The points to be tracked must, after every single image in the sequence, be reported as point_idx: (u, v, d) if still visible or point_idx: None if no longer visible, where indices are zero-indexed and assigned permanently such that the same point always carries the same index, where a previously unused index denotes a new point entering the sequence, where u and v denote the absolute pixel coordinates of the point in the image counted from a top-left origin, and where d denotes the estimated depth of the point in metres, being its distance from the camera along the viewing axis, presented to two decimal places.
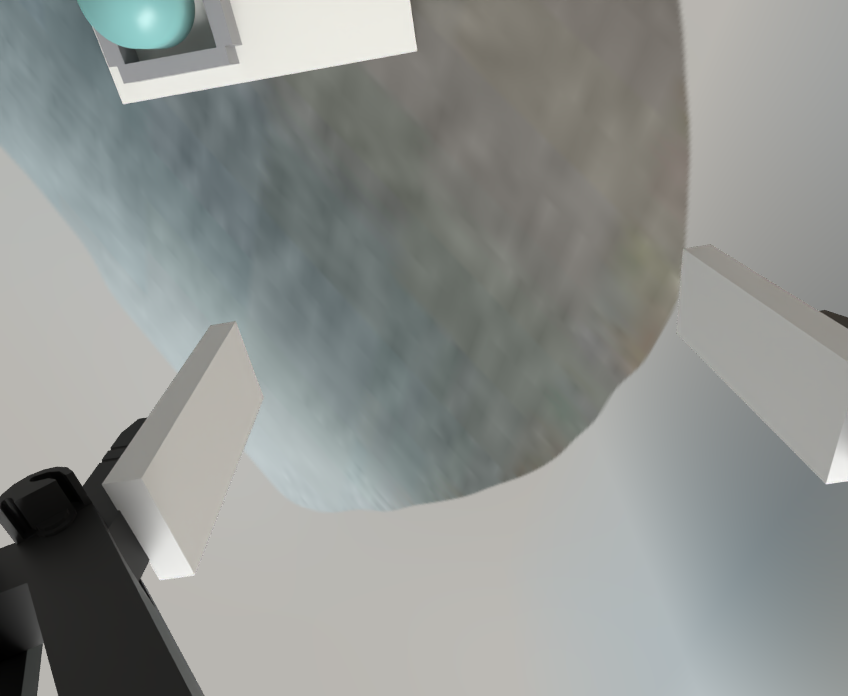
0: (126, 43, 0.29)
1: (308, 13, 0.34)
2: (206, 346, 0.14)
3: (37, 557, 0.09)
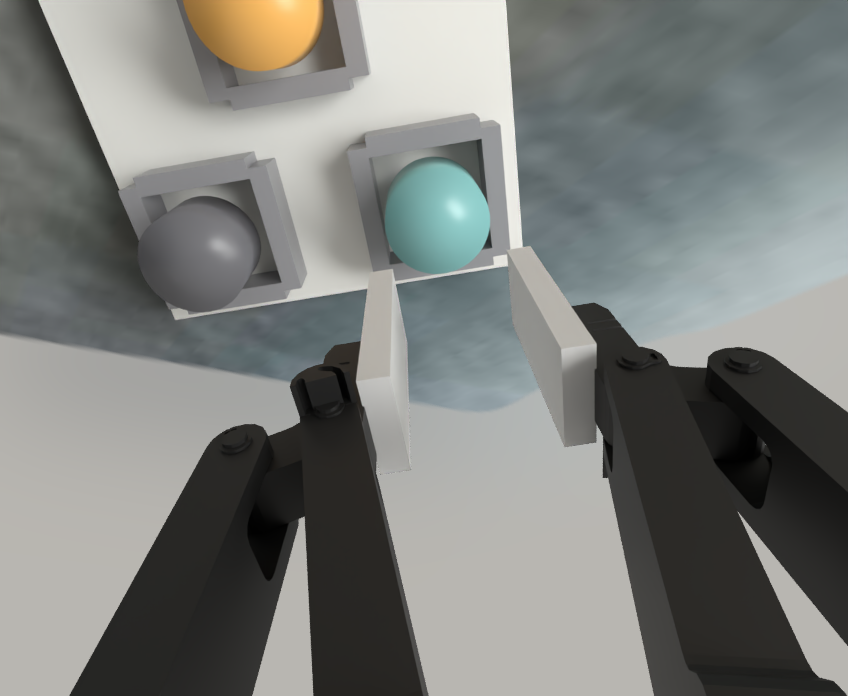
0: (484, 233, 0.26)
1: (442, 15, 0.26)
2: (378, 287, 0.16)
3: (311, 432, 0.10)
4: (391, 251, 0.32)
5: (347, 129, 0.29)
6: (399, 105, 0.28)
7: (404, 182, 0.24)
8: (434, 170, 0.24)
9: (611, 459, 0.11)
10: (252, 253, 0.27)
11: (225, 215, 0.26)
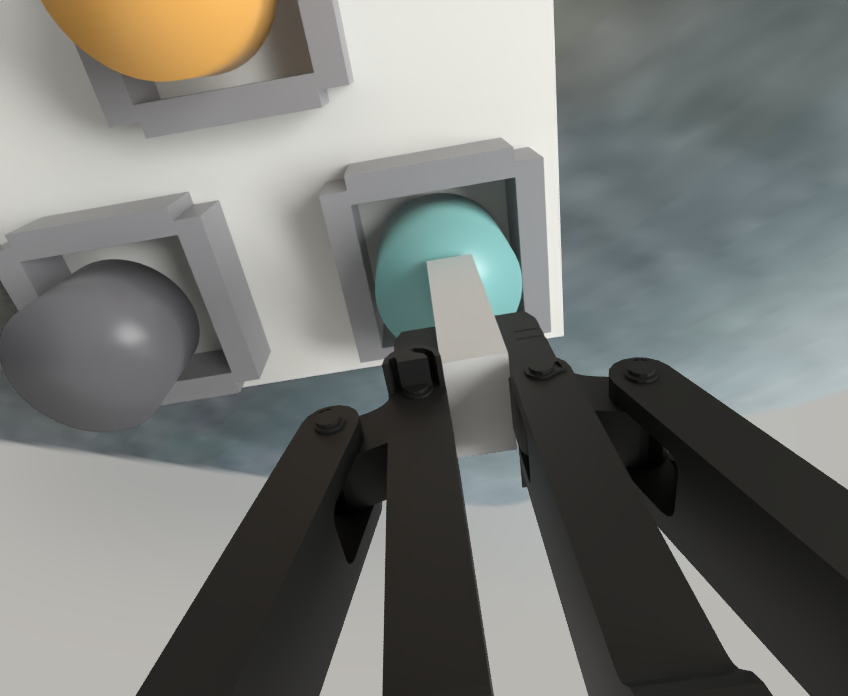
0: (513, 302, 0.18)
1: None
2: (439, 275, 0.16)
3: (398, 411, 0.11)
4: None
5: (321, 160, 0.20)
6: (395, 127, 0.20)
7: (402, 235, 0.17)
8: (445, 219, 0.17)
9: (528, 469, 0.11)
10: (181, 343, 0.19)
11: (137, 294, 0.18)
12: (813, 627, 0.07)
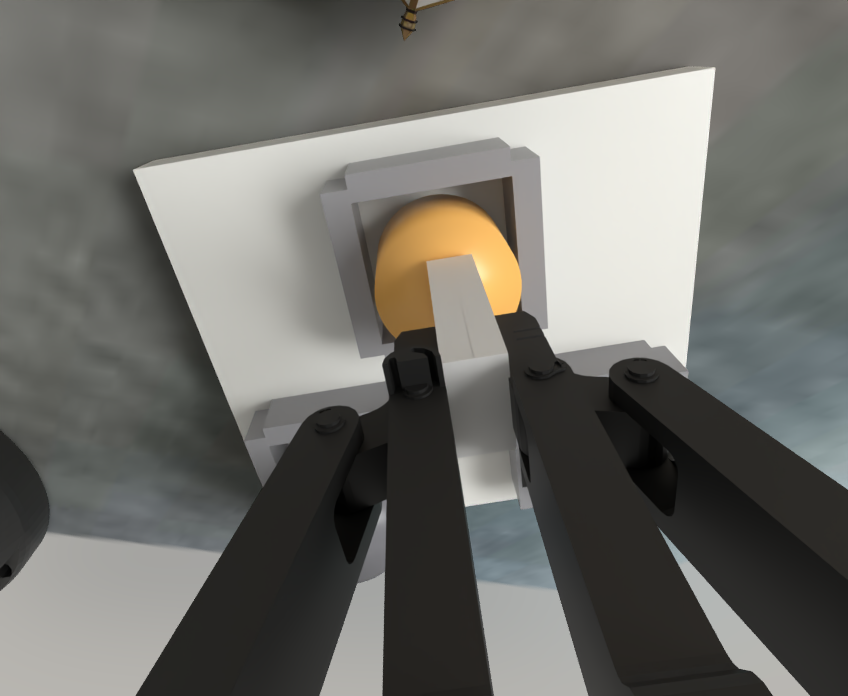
0: None
1: (625, 249, 0.23)
2: (439, 275, 0.16)
3: (399, 411, 0.11)
4: None
5: None
6: (561, 334, 0.25)
7: None
8: None
9: (528, 469, 0.11)
10: None
11: None
12: (813, 627, 0.07)
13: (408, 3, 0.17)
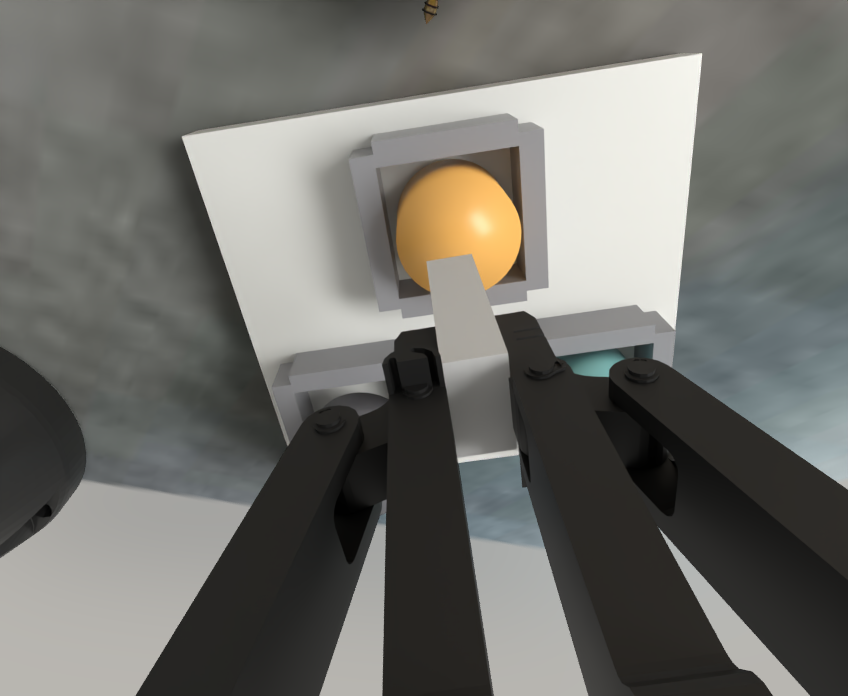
0: None
1: (620, 218, 0.25)
2: (439, 275, 0.16)
3: (398, 411, 0.11)
4: None
5: None
6: (561, 298, 0.27)
7: None
8: None
9: (528, 469, 0.11)
10: None
11: None
12: (813, 627, 0.07)
13: None
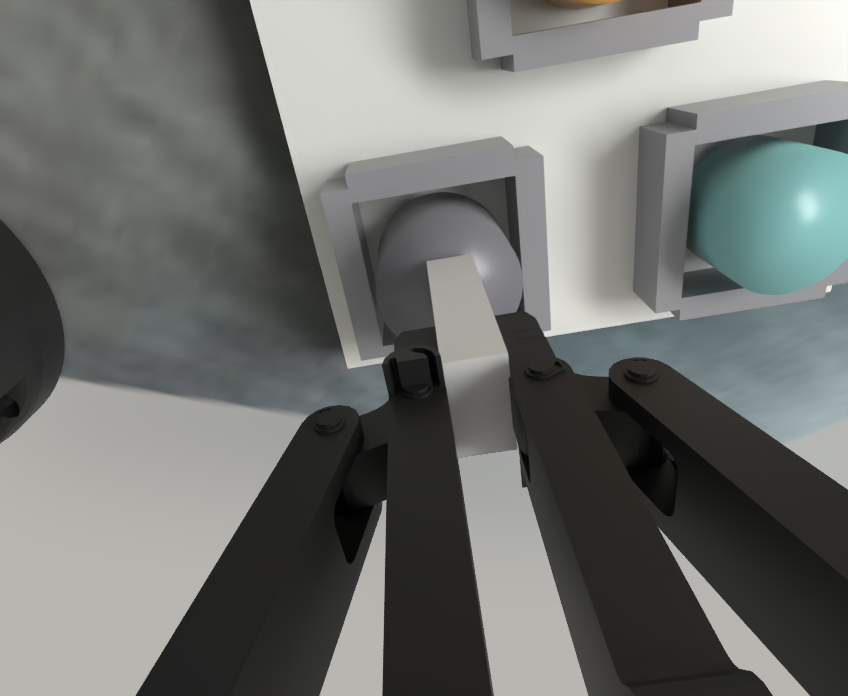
0: None
1: None
2: (439, 275, 0.16)
3: (399, 411, 0.11)
4: None
5: (640, 104, 0.20)
6: (723, 68, 0.19)
7: (770, 168, 0.17)
8: (817, 151, 0.17)
9: (529, 469, 0.11)
10: None
11: (491, 220, 0.18)
12: (813, 627, 0.07)
13: None
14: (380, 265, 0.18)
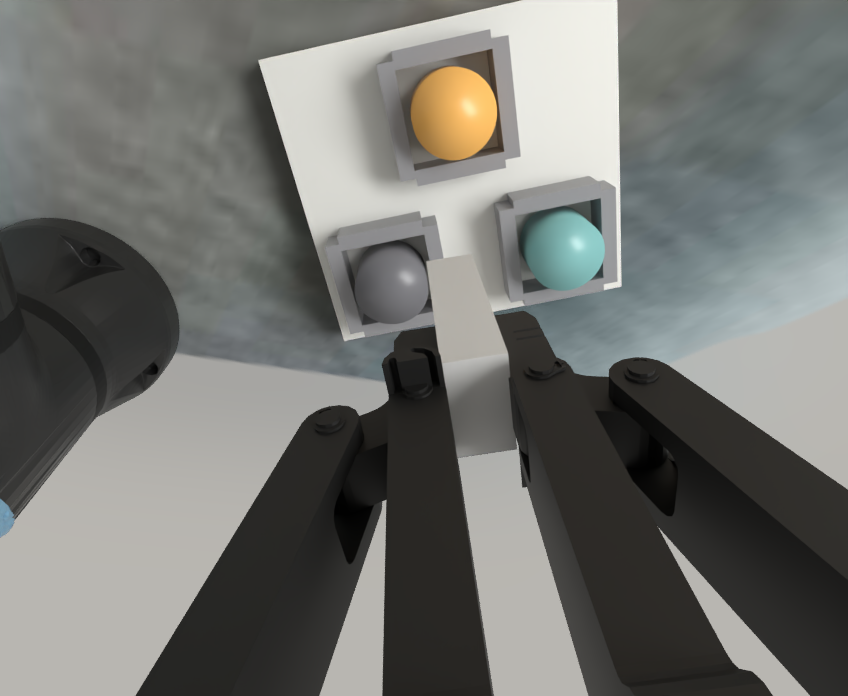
0: (600, 260, 0.36)
1: (570, 107, 0.35)
2: (438, 275, 0.16)
3: (398, 411, 0.11)
4: None
5: (492, 192, 0.37)
6: (533, 173, 0.37)
7: (546, 228, 0.35)
8: (568, 219, 0.34)
9: (528, 469, 0.11)
10: None
11: (412, 254, 0.37)
12: (813, 627, 0.07)
13: None
14: (356, 279, 0.36)
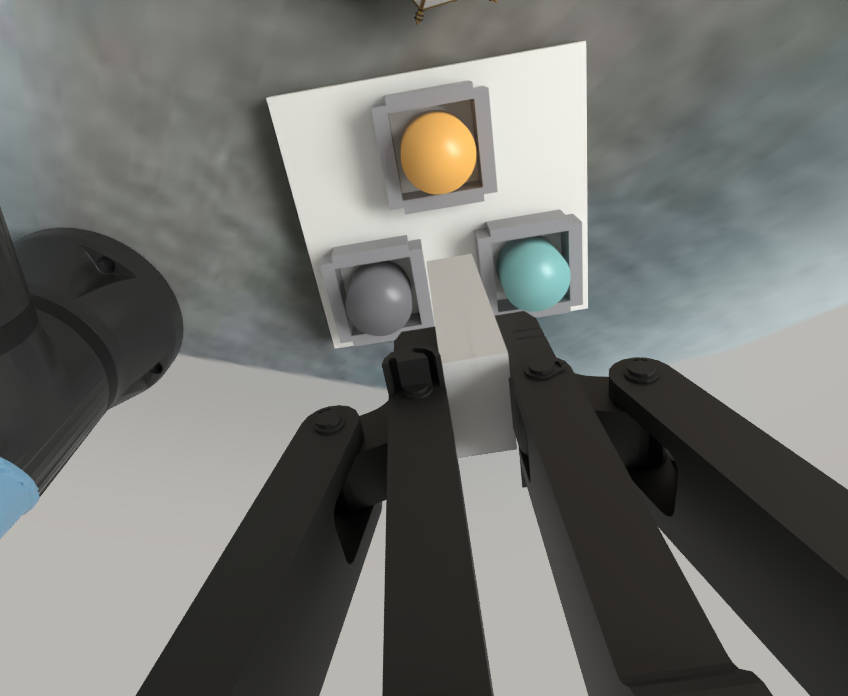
0: (566, 286, 0.40)
1: (544, 149, 0.39)
2: (438, 275, 0.16)
3: (398, 411, 0.11)
4: None
5: (472, 220, 0.41)
6: (509, 205, 0.41)
7: (518, 256, 0.39)
8: (538, 249, 0.39)
9: (528, 469, 0.11)
10: None
11: (398, 274, 0.41)
12: (813, 627, 0.07)
13: (419, 6, 0.33)
14: (347, 295, 0.40)
